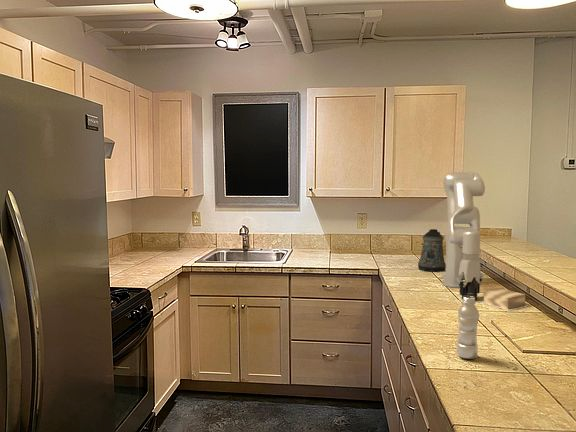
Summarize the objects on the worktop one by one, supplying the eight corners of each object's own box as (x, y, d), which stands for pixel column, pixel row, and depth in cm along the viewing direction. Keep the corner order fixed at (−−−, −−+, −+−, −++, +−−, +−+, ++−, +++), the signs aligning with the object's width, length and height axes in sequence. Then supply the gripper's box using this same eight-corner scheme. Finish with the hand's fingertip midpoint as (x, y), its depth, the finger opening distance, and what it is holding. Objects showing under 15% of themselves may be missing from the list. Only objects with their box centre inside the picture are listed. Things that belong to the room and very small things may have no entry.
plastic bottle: (472, 353, 151) (474, 294, 149) (481, 361, 144) (483, 299, 142) (452, 353, 151) (454, 294, 149) (461, 361, 144) (463, 300, 142)
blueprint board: (478, 304, 208) (478, 301, 208) (498, 299, 215) (498, 297, 215) (510, 313, 194) (510, 310, 194) (530, 308, 201) (530, 306, 201)
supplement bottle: (467, 304, 208) (468, 278, 207) (458, 300, 215) (459, 275, 214) (480, 302, 210) (481, 277, 209) (470, 299, 217) (471, 274, 215)
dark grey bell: (418, 271, 277) (419, 231, 275) (417, 265, 296) (418, 227, 294) (447, 273, 273) (448, 231, 271) (443, 266, 292) (445, 228, 290)
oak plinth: (483, 302, 207) (484, 291, 206) (500, 299, 212) (501, 288, 212) (507, 309, 196) (508, 298, 196) (524, 305, 202) (525, 294, 202)
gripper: (476, 254, 218) (475, 289, 219) (451, 257, 210) (450, 294, 211) (490, 256, 211) (488, 293, 213) (464, 260, 203) (463, 298, 204)
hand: (469, 293), depth 212 cm, fingers open, 8 cm apart
